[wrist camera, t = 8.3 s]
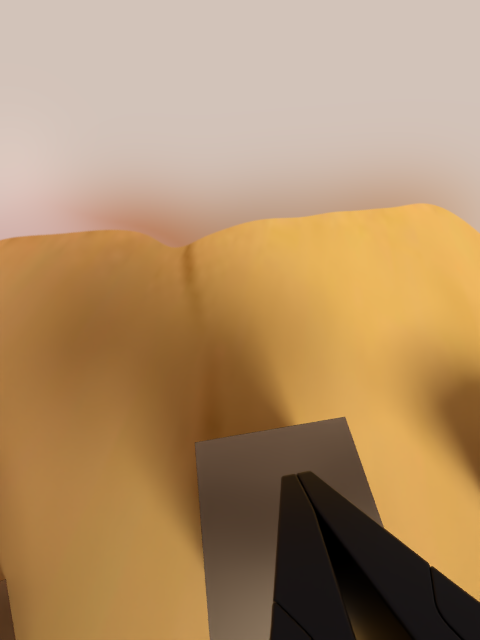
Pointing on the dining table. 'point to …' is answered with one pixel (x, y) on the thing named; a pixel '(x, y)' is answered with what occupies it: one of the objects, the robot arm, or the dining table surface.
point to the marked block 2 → (5, 614)
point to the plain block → (262, 512)
